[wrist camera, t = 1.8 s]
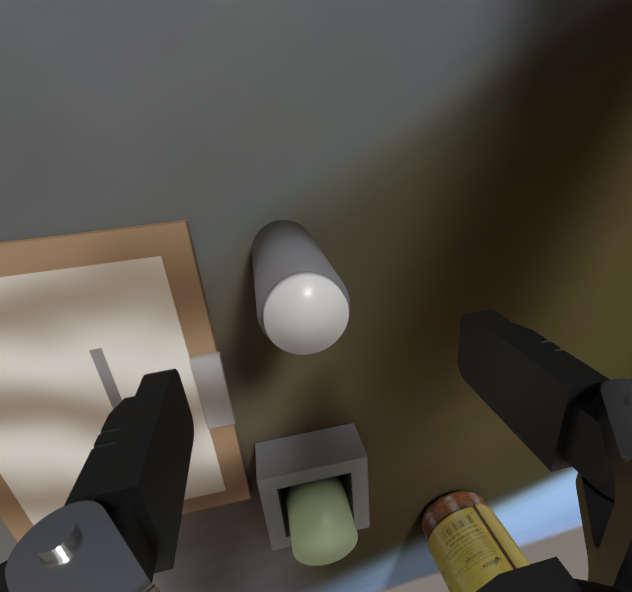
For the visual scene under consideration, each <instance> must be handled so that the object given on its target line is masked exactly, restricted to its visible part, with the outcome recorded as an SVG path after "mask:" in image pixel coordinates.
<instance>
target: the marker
mask: <svg viewBox="0 0 632 592" xmlns="http://www.w3.org/2000/svg"><path fill="white" fill-rule="evenodd" d="M252 260H253V272H254V285H255V297H256V309H257V318H258V322H259V325H260V327H261V329H262V331H263V333H264V334H265V335H266V336H267V337H268V338H269V339H270V340H271V341H272V342H273V343H274V344H275V345H276V346H277V347H279V348H280V349H282V350H284V351H286V352H289V353H293V354H299V355H307V354H313V353H317V352H320V351H322V350H324V349H326V348H328V347H330V346H331V345H332V344H334V343H335V342H336V341H337V340H338V339H339V338H340V336H341V335H342V334H343V332H344V330H345V328H346V326H347V322H348V317H349V309H350V300H349V295H348V292H347V289H346V287H345V285H344V284H343V282H342V281H341V279H340V278H339V276H338V275H337V274H336V272H335V271H334V269H333V268H332V266H331V265H330V263H329V262H328V260H327V259H326V258H325V256H324V255H323V253H322V252H321V250H320V249H319V247H318V246H317V244H316V243H315V242H314V240H313V239H312V237H311V236H310V234H309V233H308V232H307V230H306V229H305V228H303V227H302V226H301V225H299V224H297V223H295V222H292V221H288V220H279V221H274V222H271V223H269V224H267V225H266V226H264V227H263V228H262V229H261V230H260V231H259V232H258V233H257V235H256V237H255V239H254V241H253V245H252Z"/></svg>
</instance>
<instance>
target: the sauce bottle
mask: <svg viewBox="0 0 632 592" xmlns="http://www.w3.org/2000/svg"><path fill="white" fill-rule="evenodd" d="M421 527H422V529H423V532H424V534H425V537H426V539H427V542H428V547H429V549H430V552H431V554H432V556H433V558H434V560H435V562H436V564H437V566H438V568H439V570H440V572H441V574H442V576H443V578H444V580H445V582H446V584H447V586H448V588H449V590H450V592H476V591H477V590H478V589H480V588H481V587H482V586H484V585H485V584H486V583H488V582H489V581H490V580H492V579H493V578H494V577H496V576H497V575H498V574H500V573H503V572H507V571H510V570H513V569H517V568H520V567H523V566H527V565H530V563H529V562H528V560H527V559H526V557H525V556H524V554H523V553H522V551H521V550H520V549H519V547H518V546H517V544H516V543H515V541H514V540H513V539H512V537H511V536H510V534H509V533H508V532H507V530H506V529H505V527H504V526H503V525H502V523H501V522H500V520H499V519H498V518H497V516H496V515H495V513H494V512H493V511H492V510H491V509H490V508H489V507H488V506H487V504H486V503H485V501H484V500H483V498H482V497H480V496H479V495H478V494H475V493H473V492H468V491H456V492H451V493H449V494H446V495H444V496H441V497H440V498H439V499H437V500H436V501H435V502H433V503H432V504H431V505H430V506H429V507H428V508H427V510H426V512H425V513H424V515H423V518H422V522H421Z"/></svg>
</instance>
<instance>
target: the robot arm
mask: <svg viewBox="0 0 632 592" xmlns="http://www.w3.org/2000/svg"><path fill="white" fill-rule="evenodd" d="M458 366H459V370H460V373H461V375H462V377H463V378H464V380H465V381H466V382H467V383H468V384H469V386H470V387H471V388H472V389H473V390H474V391H475V392H476V393H477V394H478V395H479V396H480V397H481V398H482V399H483V400H484V401H485V402H486V404H487V405H488V406H489V407H490V408H491V409H492V410H493V411H494V412H495V413H496V414H497V415H498V416H499V417H500V418H501V419H502V420H503V421H504V423H505V424H506V425H507V426H508V427H509V428H510V429H511V430H512V431H513V432H514V433H515V434H516V435H517V436H518V437H519V438H520V439H521V440H522V442H523V443H524V444H525V445H526V446H527V447H528V448H529V449H530V450H531V451H532V452H533V453H534V454H535V455H536V456H537V457H538V458H539V459H540V461H541V462H542V463H543V464H544V465H545V466H546V467H547V468H548V469H549V470H550V471H551V472H552V471H556V470H559V469H563V468H567V467H571V466H572V467H573V468H575V469H576V470H577V471H578V475H577V478H576V489H577V495H578V501H579V507H580V513H581V519H582V525H583V531H584V537H585V543H586V549H587V555H588V567H589V571H588V581H586V580H578V579H573V578H572V576H571V575H570V574H569V572H568V571H567V570H566V569H565V567H564V566H563V565H562V563H561V562H560V561H559V559H558V558H557V557H554V558H551V559H547V560H544V561H540V562H537V563H534V564H530V565H527V566H523V567H520V568H517V569H513V570H510V571H507V572H503V573H500V574H498V575H497V576H496V577H494V578H493V579H492V580H490V581H489V582H488V583H486V584H485V585H484V586H482V587H481V588H480V589H478V590H477V591H476V592H632V379H627V378H618V379H611V380H610V379H608V378H607V377H605V376H603V375H602V374H600V373H599V372H597V371H596V370H594V369H593V368H591V367H589V366H588V365H586V364H585V363H583V362H582V361H580V360H578V359H577V358H575V357H574V356H572V355H571V354H569V353H567V352H566V351H564V350H562V351H561V349H560V347H558V346H556V345H555V344H553V343H552V342H548V341H547V339H545V338H544V337H542V336H541V335H539V334H538V333H536V332H535V331H533V330H531V329H528V328H525V327H523V326H520V325H517V324H514V323H512V322H510V321H509V320H507V319H506V318H504V317H503V316H501V315H499V314H498V313H496V312H495V311H493V310H485V311H480V312H474V313H469V314H465V315H463V317H462V319H461V323H460V336H459V351H458ZM193 441H194V423H193V417H192V413H191V410H190V407H189V404H188V400H187V397H186V394H185V391H184V387H183V384H182V381H181V378H180V375H179V373H178V371H177V370H176V369H170V370H165V371H159V372H154V373H149V374H145V375H144V376H143V378H142V380H141V383H140V385H139V387H138V390H137V392H136V394H135V396H133V397H127V398H124V399H123V400H122V401H121V402H120V403H119V404H118V405H117V406H116V407H115V408H114V409H113V410H112V411H111V412H110V413H109V415H108V417H107V419H106V421H105V423H104V425H103V427H102V429H101V434H99V435H98V437H97V439H96V441H95V443H94V449H91V452H90V454H89V456H88V458H87V460H86V462H85V464H84V466H83V468H82V470H81V472H80V474H79V476H78V478H77V480H76V482H75V484H74V486H73V488H72V490H71V492H70V494H69V496H68V498H67V500H66V503H65V505H64V506H63V507H61V508H59V509H57V510H55V511H53V512H52V513H50V514H48V515H47V516H46V517H44V518H43V519H41V520H40V521H39V522H38V523H36V524H35V525H34V526H33V527H32V528H31V529H30V530H29V531H28V532H27V533H26V534H25V535H24V536H23V537H22V538H21V539H20V541H19V542H18V543H17V545H16V546H15V548H14V549H13V551H12V553H11V554H10V556H9V558H8V560H7V561H5V562H3V563H2V564H0V592H160V591H159V589H158V588H157V587H156V585H155V584H154V585H152V580H153V575H154V573H158V572H161V571H165V570H169V569H173V565H174V559H175V553H176V547H177V541H178V534H179V528H180V522H181V516H182V509H183V503H184V497H185V491H186V485H187V478H188V472H189V466H190V460H191V453H192V447H193Z"/></svg>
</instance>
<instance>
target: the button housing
mask: <svg viewBox="0 0 632 592" xmlns="http://www.w3.org/2000/svg"><path fill="white" fill-rule="evenodd" d="M255 452H256V476H257V485H258V489H259V494H260V498H261V503H262V507H263V512H264V516H265V521H266V525H267V530H268V534H269V539H270V543H271V548H272V551H275V550H279V549H283V548H287V547H291V546H292V543H291V535H290V526H289V518H288V510H287V502H286V497H282V496H281V491H280V488H285V487H289V486H294V485H298V484H303V483H307V482H312V481H316V480H320V479H325V478H329V477H334V476H338V475H343V486H344V489H345V493H346V496H347V500H348V503H349V506H350V510H351V513H352V517H353V520H354V524H355V527H356V530H360V529H364V528H368V527H370V521H369V492H368V463H367V455H366V452H365V449H364V447H363V444H362V442H361V439H360V437H359V434H358V432H357V429H356V427H355V424H354V423H351V424H346V425H341V426H336V427H331V428H327V429H322V430H317V431H312V432H307V433H302V434H298V435H293V436H288V437H283V438H278V439H273V440H269V441H264V442H259V443H255Z"/></svg>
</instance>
